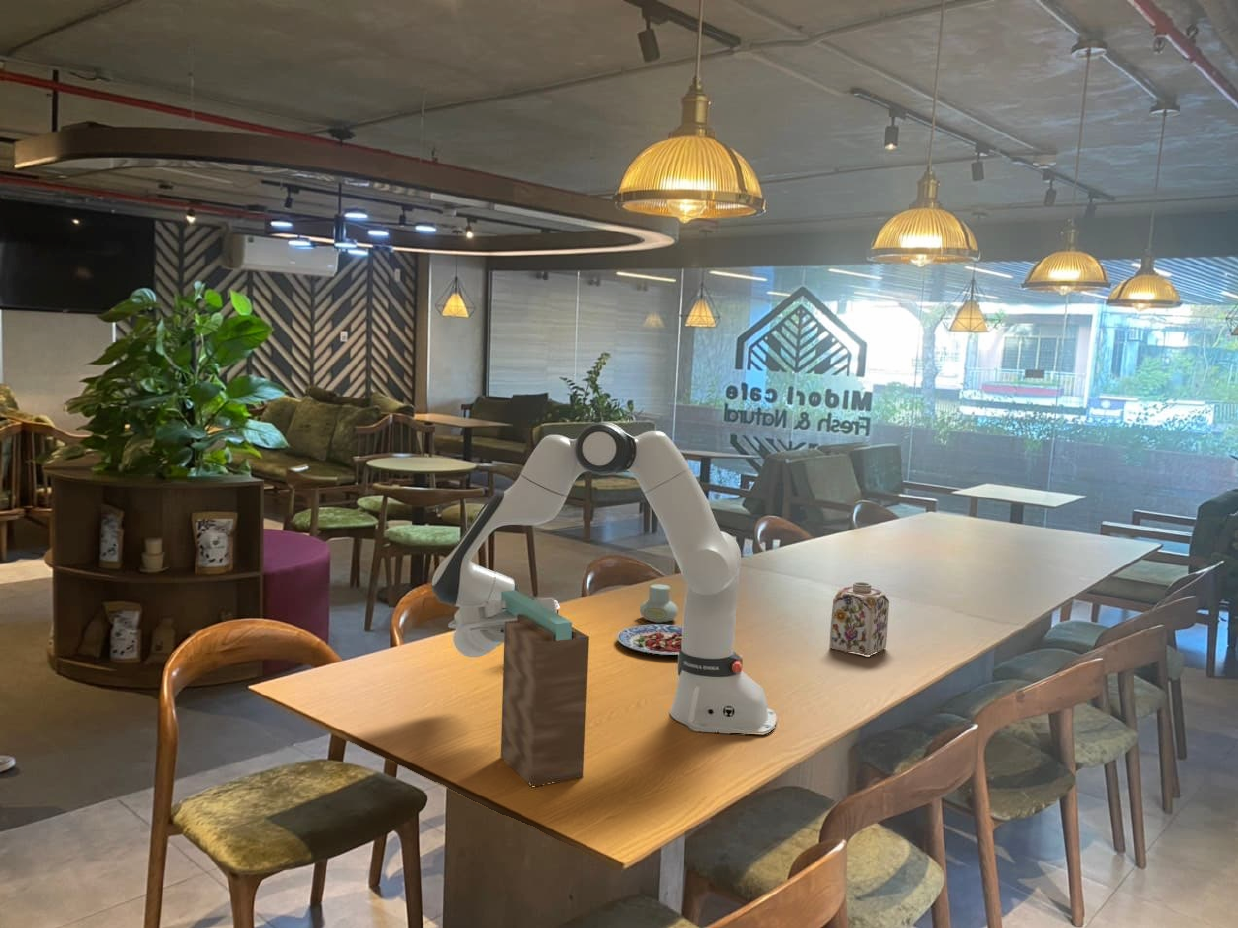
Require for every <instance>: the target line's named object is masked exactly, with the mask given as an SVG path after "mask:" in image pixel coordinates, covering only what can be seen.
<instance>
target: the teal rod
mask: <svg viewBox="0 0 1238 928" xmlns="http://www.w3.org/2000/svg"><path fill="white" fill-rule="evenodd" d="M501 601H505V602H506V604H505V605H506V610H507V611H508V612H510V613H512V614H513V615H515V616H517V614H521V615H523V616H525V617H526V618H528V619H530V620H531V621H533V622H535V623H536V624H538V625H540V626H541V627H543V628H545V629H546V630H548V631H549V632H551V633H553V634H554V640H555V641H559V640H567V639H571V637H572V627H573V621H570V620H569V619H567V618H566V617H563V616H562V615H561V614H559V613H558V614H557V613H555V612H553V611H551V610H549V609H548V608H546V607H544V606H542V605H541V604H539V603H537V602H535V601H533V600H532V598H530V597H528V596H526V595H525V594H523V593H521V592H520V591H519V592H517V591H516V590H514V591H503V592H501Z"/></svg>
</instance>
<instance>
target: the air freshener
mask: <svg viewBox="0 0 1238 928" xmlns="http://www.w3.org/2000/svg"><path fill="white" fill-rule="evenodd" d="M639 612H640V615H641V616H642V617H643V618H644V619H645V620H647V621H648V620H649V621H648V622H651V621H652V622H651V623H653V622H657V623H656V624H664V623H663V622H665V623H668V622H671V621H672V620H673V621H674V619H675V618H676V617H677V615H678V614H679V610H678V607H677V605H676V604H675V603H674V602H673V601H671V587H670V586H669V585H666V584H656V583H655V584H652V585H650V587H649V595H648V599H646V600H645V601H643V602H642V603H641V605H640V608H639Z"/></svg>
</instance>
